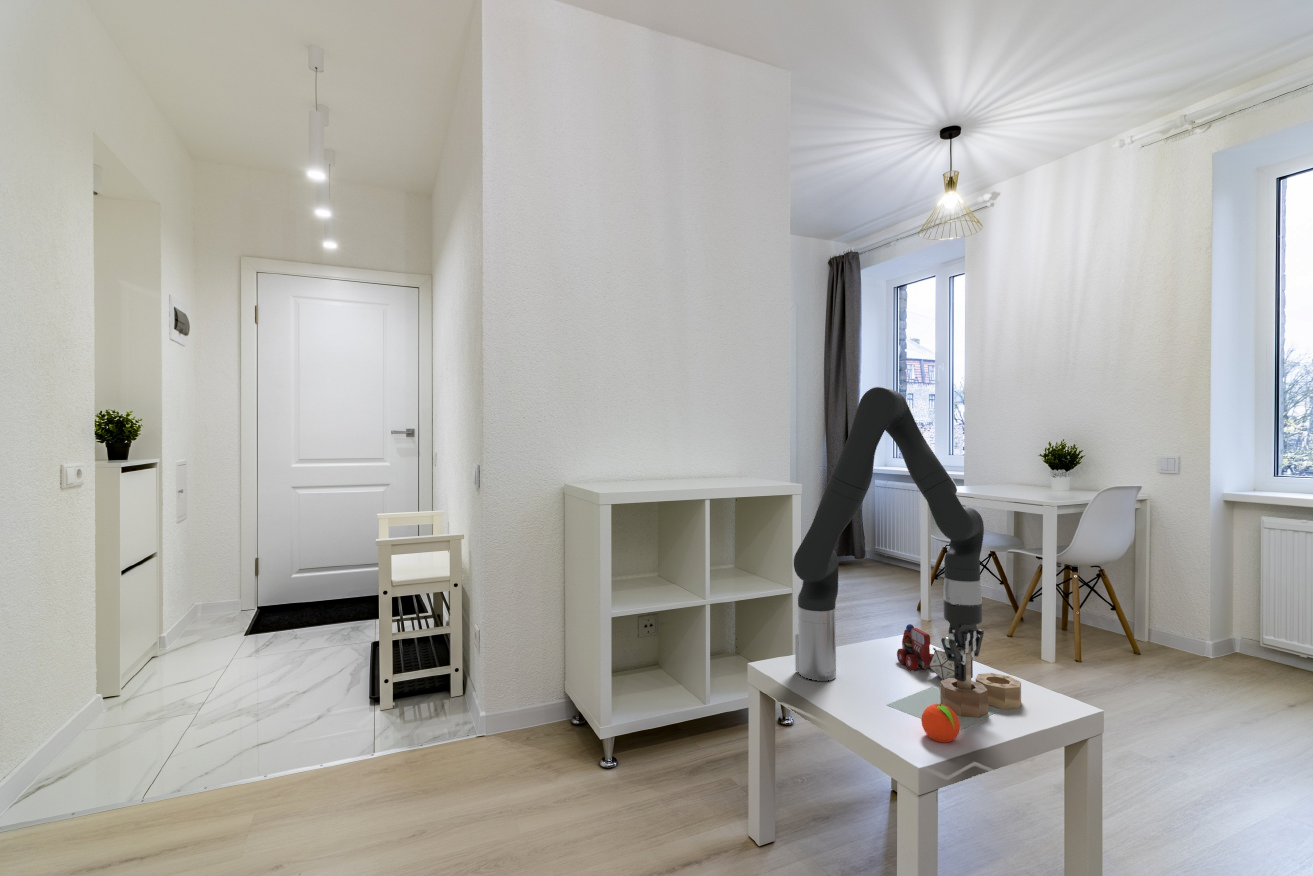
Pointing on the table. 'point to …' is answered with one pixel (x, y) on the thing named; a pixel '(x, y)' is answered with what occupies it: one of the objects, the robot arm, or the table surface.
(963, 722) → the grey mat
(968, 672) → the birch peg
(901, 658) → the red toy car
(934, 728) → the clementine
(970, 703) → the walnut bead
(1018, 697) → the oak bead
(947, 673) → the game die
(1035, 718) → the table surface
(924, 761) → the table surface
